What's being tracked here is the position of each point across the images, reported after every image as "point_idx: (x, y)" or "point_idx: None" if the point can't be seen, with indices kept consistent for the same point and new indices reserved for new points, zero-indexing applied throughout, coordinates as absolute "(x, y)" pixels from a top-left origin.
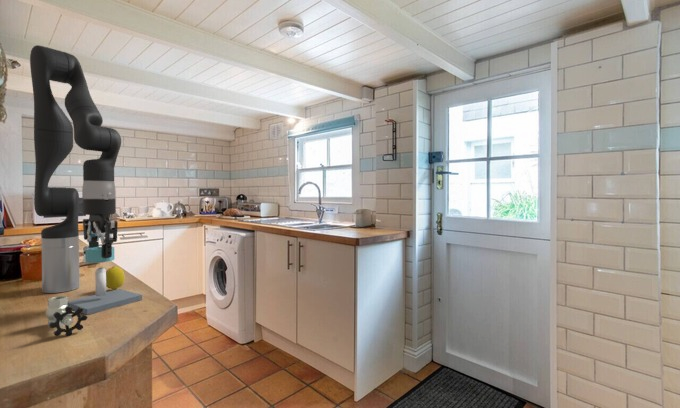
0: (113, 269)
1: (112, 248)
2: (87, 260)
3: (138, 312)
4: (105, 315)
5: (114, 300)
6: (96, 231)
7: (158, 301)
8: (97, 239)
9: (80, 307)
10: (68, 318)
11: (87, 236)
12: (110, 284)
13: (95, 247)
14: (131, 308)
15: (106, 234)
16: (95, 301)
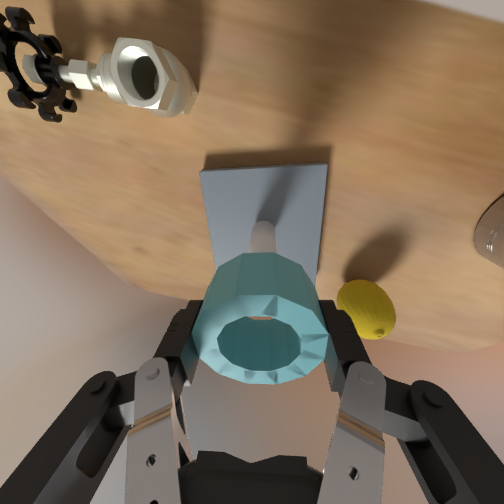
0: (365, 323)
1: (213, 366)
2: (255, 258)
3: (138, 239)
4: (168, 192)
5: (223, 239)
6: (170, 477)
7: (184, 289)
8: (338, 408)
9: (21, 103)
10: (23, 66)
11: (417, 416)
12: (347, 285)
13: (315, 347)
14: (177, 243)
15: (52, 445)
16: (253, 211)
